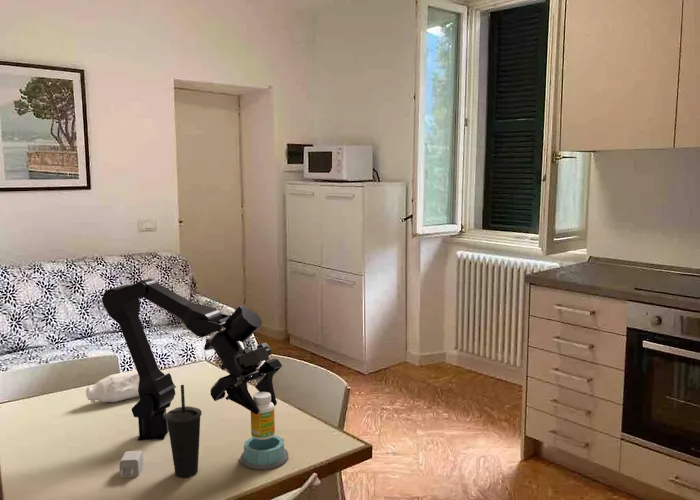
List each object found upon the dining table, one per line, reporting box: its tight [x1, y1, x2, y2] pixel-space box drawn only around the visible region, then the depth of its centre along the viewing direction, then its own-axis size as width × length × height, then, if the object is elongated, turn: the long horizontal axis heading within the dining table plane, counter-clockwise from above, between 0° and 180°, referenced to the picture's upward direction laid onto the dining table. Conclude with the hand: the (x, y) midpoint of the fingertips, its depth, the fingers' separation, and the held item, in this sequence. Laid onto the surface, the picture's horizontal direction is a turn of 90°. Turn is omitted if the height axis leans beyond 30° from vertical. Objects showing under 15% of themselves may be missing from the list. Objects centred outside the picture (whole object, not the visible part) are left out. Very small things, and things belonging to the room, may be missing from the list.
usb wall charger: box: [118, 450, 144, 478], centre depth 133 cm, size 4×7×4 cm, turn 7°
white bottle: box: [85, 369, 139, 404], centre depth 179 cm, size 8×19×8 cm, turn 129°
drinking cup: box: [165, 384, 203, 479], centre depth 133 cm, size 8×8×20 cm
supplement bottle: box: [250, 391, 276, 440], centre depth 139 cm, size 5×5×10 cm
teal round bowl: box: [239, 435, 289, 471], centre depth 140 cm, size 11×11×4 cm
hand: (266, 409), depth 138 cm, fingers closed on supplement bottle, 5 cm apart
